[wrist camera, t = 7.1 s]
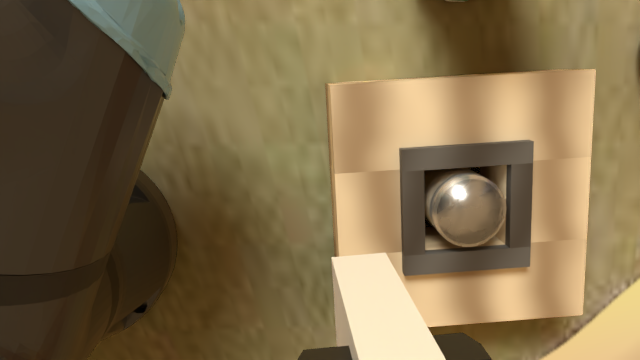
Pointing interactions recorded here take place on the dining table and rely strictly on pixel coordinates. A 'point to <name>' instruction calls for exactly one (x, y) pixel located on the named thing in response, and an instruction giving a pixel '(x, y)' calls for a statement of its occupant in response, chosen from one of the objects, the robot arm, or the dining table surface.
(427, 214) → the peg
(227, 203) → the dining table surface
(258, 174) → the dining table surface
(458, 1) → the soda can
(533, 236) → the block
